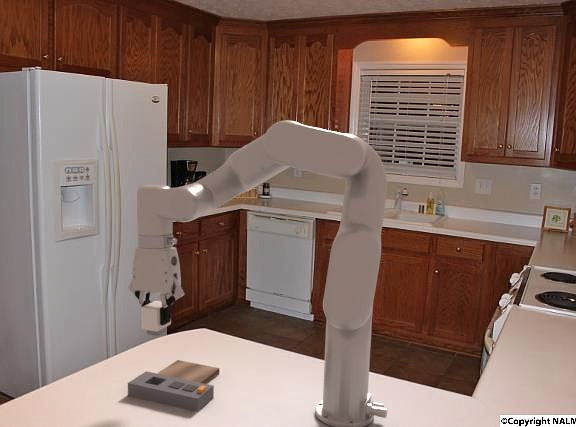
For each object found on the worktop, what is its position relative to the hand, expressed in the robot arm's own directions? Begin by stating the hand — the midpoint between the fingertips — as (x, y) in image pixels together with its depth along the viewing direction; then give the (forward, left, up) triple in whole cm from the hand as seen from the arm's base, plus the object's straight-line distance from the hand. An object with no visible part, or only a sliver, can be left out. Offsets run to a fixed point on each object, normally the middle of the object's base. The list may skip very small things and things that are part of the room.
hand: (156, 321), depth 128 cm
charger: (0, 0, -3) cm, 3 cm away
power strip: (-4, 0, -17) cm, 18 cm away
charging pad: (-2, -10, -17) cm, 20 cm away
